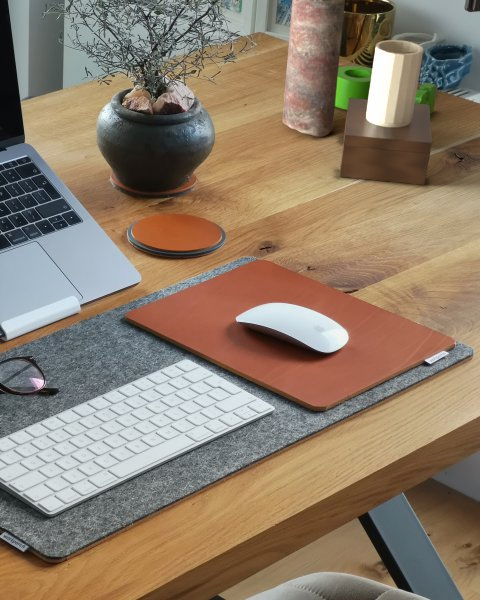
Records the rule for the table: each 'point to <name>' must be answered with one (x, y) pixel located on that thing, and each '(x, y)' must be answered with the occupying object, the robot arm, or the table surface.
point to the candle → (313, 65)
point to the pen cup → (394, 83)
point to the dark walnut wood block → (386, 146)
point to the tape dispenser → (358, 85)
